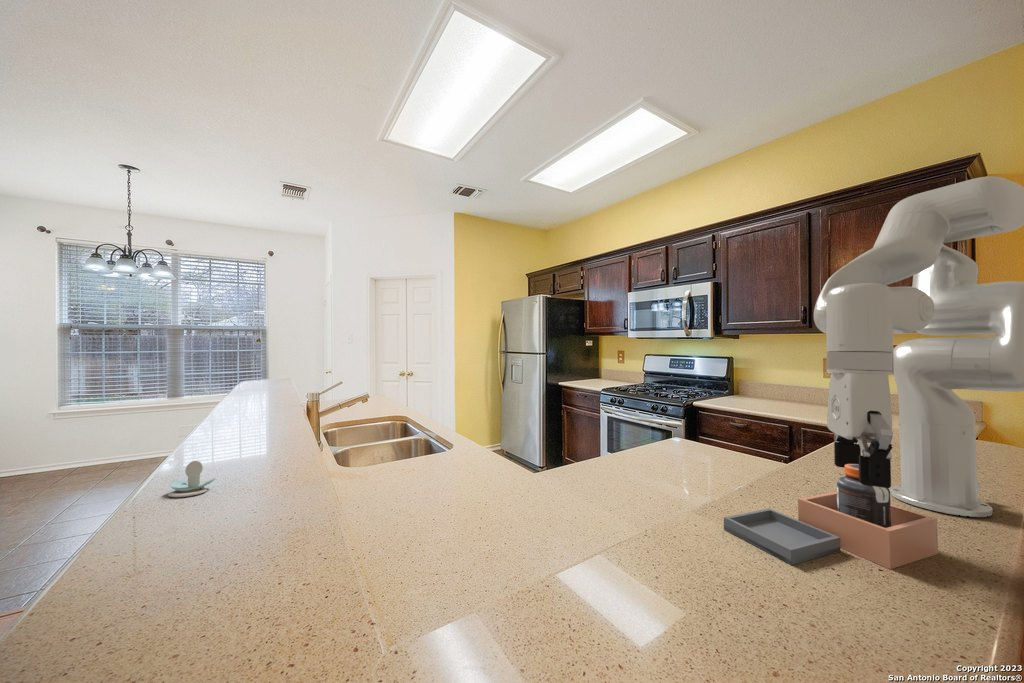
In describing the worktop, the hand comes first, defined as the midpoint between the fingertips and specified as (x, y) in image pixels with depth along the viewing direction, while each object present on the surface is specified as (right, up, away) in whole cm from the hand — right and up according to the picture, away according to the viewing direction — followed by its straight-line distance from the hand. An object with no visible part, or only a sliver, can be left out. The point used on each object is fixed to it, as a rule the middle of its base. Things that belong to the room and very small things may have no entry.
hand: (860, 475), depth 56 cm
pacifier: (-120, -11, +19) cm, 122 cm away
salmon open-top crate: (+1, -10, 0) cm, 10 cm away
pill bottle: (+1, -10, 0) cm, 10 cm away
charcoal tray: (-12, -10, 0) cm, 16 cm away
